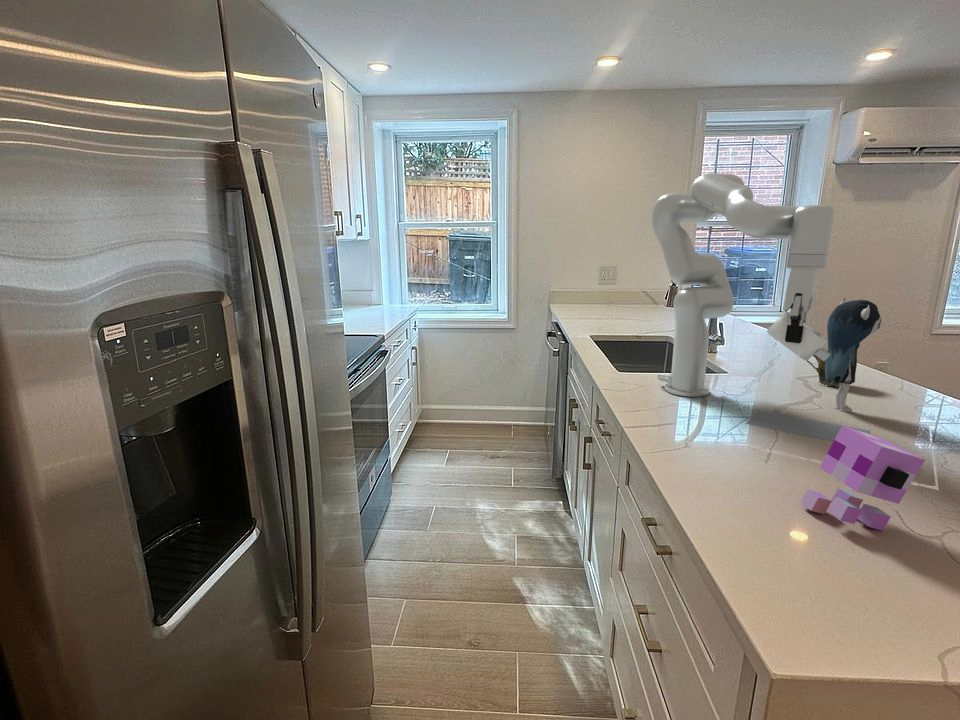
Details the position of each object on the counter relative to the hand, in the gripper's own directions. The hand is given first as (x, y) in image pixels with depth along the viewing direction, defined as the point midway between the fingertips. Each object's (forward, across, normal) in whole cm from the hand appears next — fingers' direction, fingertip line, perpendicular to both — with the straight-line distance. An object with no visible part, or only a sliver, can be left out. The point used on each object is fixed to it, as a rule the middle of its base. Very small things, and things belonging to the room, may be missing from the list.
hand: (794, 339), depth 119 cm
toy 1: (+22, -22, +10) cm, 33 cm away
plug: (+2, 0, 0) cm, 2 cm away
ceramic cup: (+22, -51, +5) cm, 56 cm away
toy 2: (+22, +40, +16) cm, 49 cm away
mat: (+22, -2, +5) cm, 23 cm away
